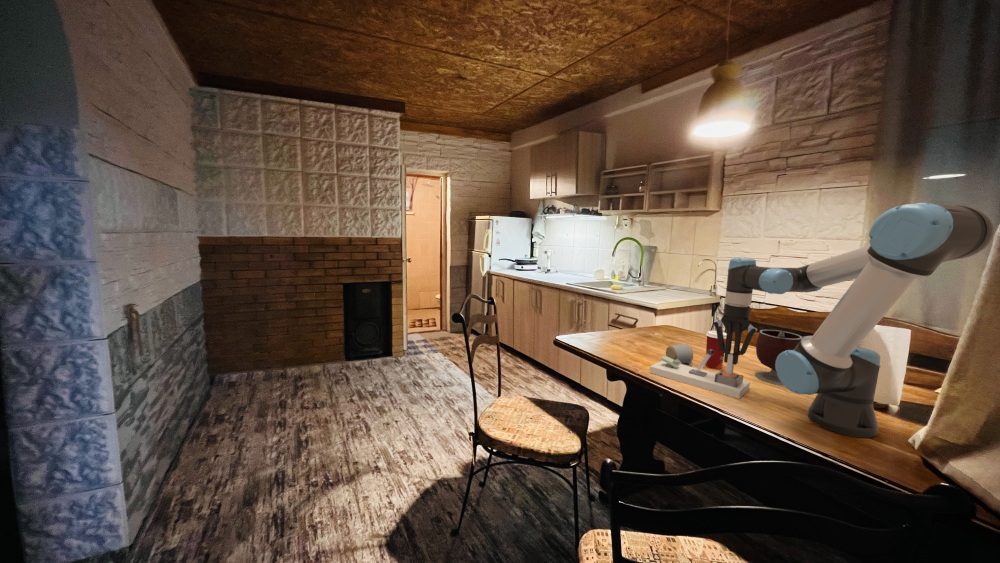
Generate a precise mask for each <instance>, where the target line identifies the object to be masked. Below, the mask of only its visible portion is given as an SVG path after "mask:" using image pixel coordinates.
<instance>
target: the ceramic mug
mask: <svg viewBox="0 0 1000 563" xmlns="http://www.w3.org/2000/svg"><path fill="white" fill-rule="evenodd" d="M665 356H667V357H669V358H671V359H674V360H676V359H677V360H679V361H680V364H682V365H686V366H690V367H693V363H694V362H693V359H694V352H693V348H692V347H691V345H689V344H688V343H682V344H681V343H680V344H672V345H669V346H668V347H666V349H665Z"/></svg>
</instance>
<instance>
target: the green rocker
mask: <svg viewBox="0 0 1000 563" xmlns="http://www.w3.org/2000/svg"><path fill="white" fill-rule="evenodd" d="M660 361H664V362H666V363H668V364H670V365H672V366H674V367H678V366H679V365H680V361H679V360H677V359H676V360H674V359H671V358H669V357H667V356H666V355H664V356H662V357H661V358H660Z"/></svg>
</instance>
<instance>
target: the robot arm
mask: <svg viewBox="0 0 1000 563" xmlns="http://www.w3.org/2000/svg"><path fill="white" fill-rule="evenodd" d="M994 234H995V224H994V222H993V221H992V219H991V218H990V217H989V216H988V214H986V213H984V212H983V211H982V210H979V209H977V208H975V207H971V206H967V205H965V206H964V205H950V204H948V205H947V204H935V203H932V202H931V203H930V202H916V203H908V204H906V203H905V204H901V205H898V206H894V207H892V208H890V209H888V210H887V211H885V212H883V213H882V214H880V215H879V216H878V217H877V218H876V219H875V220H874V222H873V223H872V225H871V227H870V229H869V233H868V237H869V241H868V242H869V245H867V246H864V247H861V248H857V249H855V250H854V249H853V250H851V251H848V252H844V253H841V254H838V255H835V256H832V257H828V258H825V259H822V260H819V261H815V262H812V263H809V264H807V265H803V266H799V267H768V266H758V265H757V261H756V259H753V258H747V257H746V258H745V257H733V258H730V259H729V264H728V269H727V280H726V288H725V290H726V291H725V297H724V302H725V303H724V305H723V314H722V317H721V319H720V320H716V321H714V322H713V326H714V327H715V329H716V330H715V331H717V338H718V345H719V350H721V351H723V352H724V358H723V363H726V369H725V371H726V373H729V374H732V373H733V372H734V368H735V366H736V365H737V364H738V363H739V356H743V355H745V354H746V352H747V350H748V348H749V346H750V344H751V341H752V339H753V336H754V335H755V333H756V332H757V331H758V328H757V327H754V326H753V325H752V324H751V321H750V316H751V315H750V314H751V305H752V298H753V291H759V292H764V293H768V294H770V295H771V294H772V295H773V294H774V295H775V294H776V295H784V294H786V293H813V292H817V291H820V290H821V289H822V288H824V287H827V286H832V285H835V284H840V283H844V282H847V281H853V282H852V283H851V285H850V286H849V287H848V289H847V290H846V291H845V293H844V294H843V295H842V297H840V299H839V300H838V301H837V303H836V304H835V305H834V307H833V309H832V310H831V311H830V312H829V314H828V315H827V317H825V319H824V320H823V322H822V323H821V324H820V325H819V327H818V329H817V330H816V331H815V332H814V333H813V335H806V336H802V339H801V341H800V342H799V343H798V345H797V346H796V347H795V349H794V350H786V351H784V352H782V353H780V354H779V355H778V357H777V359H776V363H775V368H776V371H777V376H778V378H779V380H780V381H781V383H782V384H783V385H782V386H784V387H785V388H786V389H787V390H789V392H792V393H794V394H798V395H807V396H810V395H811V396H812V395H815V394H816V396H815V398H814V399H813V401H812V402H811V404H810V406H809V407H808V410H807V411H808V412H807V418H808V420H810V421H811V422H812V423H814V424H816V425H817V426H819V427H821V428H824V429H826V430H828V431H831V432H834V433H837V434H840V435H841V434H842V435H845V436H849V437H856V438H866V439H867V438H874V437H876V436H877V435H878V431H879V424H878V423H879V422H878V420H877V415H876V412H875V408H874V400H875V394H876V389H877V385H878V384H877V382H878V378H879V372H880V369H881V355H880V354H879V353H878V352H877V351H875V350H872V349H870V348H866V347H863V346H859V345H861V343H862V342H863V341H864V340H865V339H866V338H867V337H868V335H869V334H870V332H871V331H873V329H874V328H875V327H876V326H877V325H878V324H879V322H881V320H882V319H883V318H884V317H885V315H886V314H887V313H888V312H889V311H890V309H892V307H893V306H894V305H895V304H896V303H897V302H898V300H899V299H900V298H901V297H902V295H904V293H905V292H906V291H907V290H908V288H909V287H910V286H911V285H912V284H913V283H914V281H916V280H917V279H922V278H923V279H924V278H928V277H930V276H931V275H933V273H934V272H935V271H936V270H937V269H938V268H939V267H940V265H941V264H942V263H946V262H951V261H955V260H957V261H958V260H963V259H967V258H970V257H972V256H975V255H977V254H978V253H981V251H983V250H985V249H986V248H987V247H988V246H989V245H990V243H991V242H992V240H993V238H994V236H995V235H994ZM723 326H724V328H725V329H726V332H725V333H726V334H727V336H726V345H725V343H724V337H723V332H724V331H723ZM746 329H747V332H748V333H747V334H746V336H745V338H744V341H743V344H742V346H741V342H742V334H743V332H745V331H746ZM733 335H734V342H733ZM732 344H733V351H732Z"/></svg>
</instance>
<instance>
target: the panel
mask: <svg viewBox="0 0 1000 563" xmlns="http://www.w3.org/2000/svg"><path fill="white" fill-rule="evenodd" d="M682 364H683V363H682ZM682 364H680V365H679V366H678V367H674V366H672V365H670V364H668V363H666V362H664V361H662V360H660V361H658V362H655V363H654V364H652V365H649V374H652V373H653V375H655V374H656V375H655V376H659V377H662V378H665V379H670V380H673V381H676V382H680V383H684V384H687V385H691V386H693V387H697V388H701V389H705V390H708V391H710V392H714V393H718V394H722V395H725V396H728V397H732V398H734V399H735V398H736V399H738V400H739V399H741V398H742V396H744V395H745V394H746V393H747V392H748V391H749V390H750V385H751V383H750V381H747V380H744V375H743V374H739V373H736V374H737V378H736V379H733V378H729V377H725V376H722V371H724V370H722V369H720V371H717V372H713V371H708V370H705V369H701V370H700V371H698V370H697V367H693V366H692V367H690V366H686V365H687V364H685V365H682Z"/></svg>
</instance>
